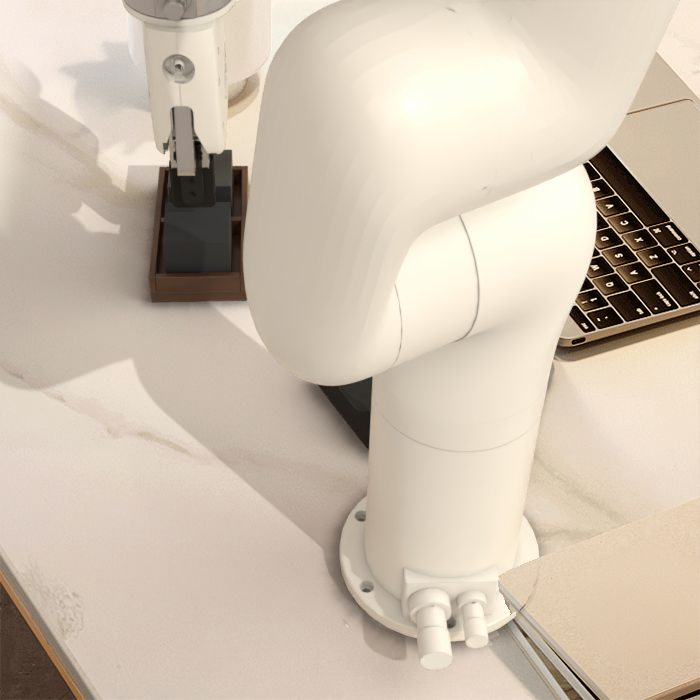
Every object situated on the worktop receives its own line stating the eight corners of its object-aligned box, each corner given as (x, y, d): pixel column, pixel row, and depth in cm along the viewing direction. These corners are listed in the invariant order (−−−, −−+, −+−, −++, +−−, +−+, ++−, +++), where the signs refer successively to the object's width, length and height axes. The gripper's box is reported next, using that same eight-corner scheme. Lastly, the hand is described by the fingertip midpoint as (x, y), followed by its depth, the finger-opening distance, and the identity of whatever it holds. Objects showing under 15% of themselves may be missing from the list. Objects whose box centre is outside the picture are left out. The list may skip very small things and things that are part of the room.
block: (231, 282, 98) (229, 241, 96) (166, 283, 98) (162, 243, 95) (232, 241, 102) (230, 201, 99) (169, 242, 102) (165, 202, 99)
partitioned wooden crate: (247, 300, 98) (245, 250, 95) (151, 302, 98) (145, 252, 95) (248, 189, 109) (246, 140, 105) (161, 190, 108) (156, 141, 105)
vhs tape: (539, 382, 93) (542, 362, 91) (370, 453, 87) (371, 434, 86) (481, 321, 97) (483, 301, 96) (317, 385, 92) (317, 365, 91)
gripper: (233, 37, 78) (243, 264, 91) (236, -74, 89) (245, 143, 102) (110, 38, 78) (137, 265, 91) (128, -74, 89) (150, 144, 101)
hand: (194, 200), depth 96 cm, fingers closed
